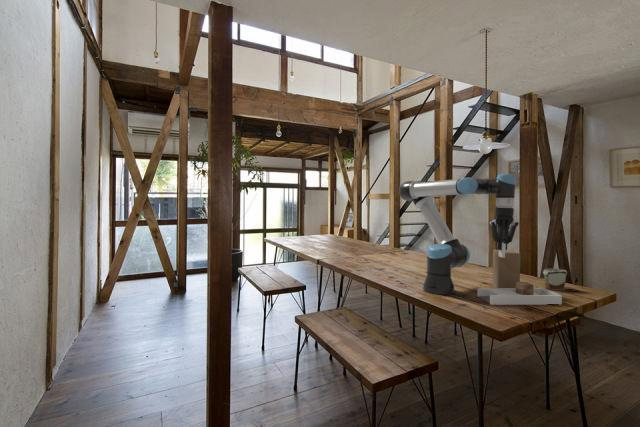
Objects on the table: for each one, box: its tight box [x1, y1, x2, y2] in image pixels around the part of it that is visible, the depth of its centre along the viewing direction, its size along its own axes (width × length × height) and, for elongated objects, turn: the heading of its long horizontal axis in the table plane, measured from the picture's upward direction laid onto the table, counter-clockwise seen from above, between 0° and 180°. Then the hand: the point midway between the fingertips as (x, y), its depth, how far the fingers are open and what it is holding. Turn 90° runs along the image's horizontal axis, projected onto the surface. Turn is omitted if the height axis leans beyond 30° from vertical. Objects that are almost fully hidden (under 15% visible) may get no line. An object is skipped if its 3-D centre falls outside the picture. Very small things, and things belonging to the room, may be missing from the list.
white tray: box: [476, 287, 563, 306], centre depth 148 cm, size 32×12×4 cm, turn 91°
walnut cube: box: [516, 281, 535, 295], centre depth 148 cm, size 5×5×5 cm
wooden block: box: [491, 249, 522, 288], centre depth 166 cm, size 10×10×20 cm
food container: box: [542, 268, 568, 291], centre depth 169 cm, size 12×6×10 cm, turn 100°
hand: (501, 256), depth 151 cm, fingers closed
